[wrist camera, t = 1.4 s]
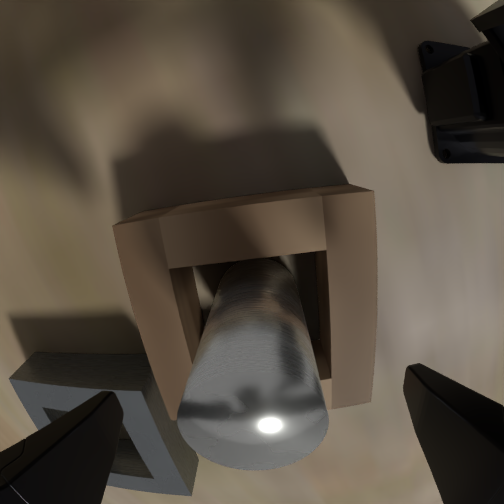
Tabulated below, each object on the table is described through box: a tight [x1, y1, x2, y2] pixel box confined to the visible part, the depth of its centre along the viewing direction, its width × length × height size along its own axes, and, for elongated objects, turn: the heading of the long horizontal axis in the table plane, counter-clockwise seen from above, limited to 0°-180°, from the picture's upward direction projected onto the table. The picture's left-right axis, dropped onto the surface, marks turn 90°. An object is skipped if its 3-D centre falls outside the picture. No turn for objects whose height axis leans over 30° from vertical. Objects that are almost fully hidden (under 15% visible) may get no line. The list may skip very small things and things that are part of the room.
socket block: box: [112, 184, 377, 420], centre depth 15 cm, size 10×10×4 cm
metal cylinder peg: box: [177, 258, 329, 470], centre depth 12 cm, size 4×4×9 cm
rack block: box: [9, 352, 199, 496], centre depth 17 cm, size 10×10×4 cm
